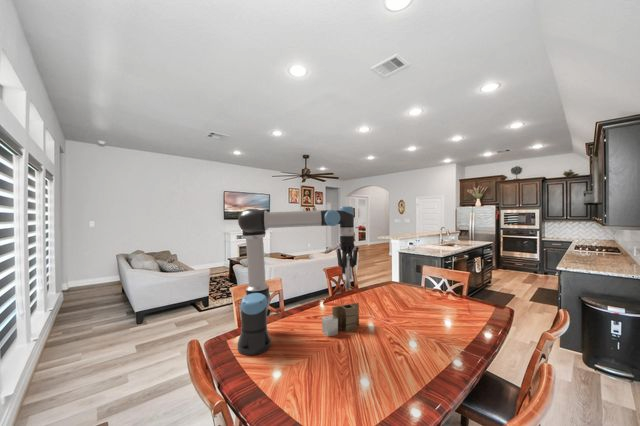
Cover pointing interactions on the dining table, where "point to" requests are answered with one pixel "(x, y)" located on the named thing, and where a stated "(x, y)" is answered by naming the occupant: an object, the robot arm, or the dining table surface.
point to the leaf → (335, 321)
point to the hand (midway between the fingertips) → (347, 279)
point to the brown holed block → (348, 311)
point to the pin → (347, 282)
